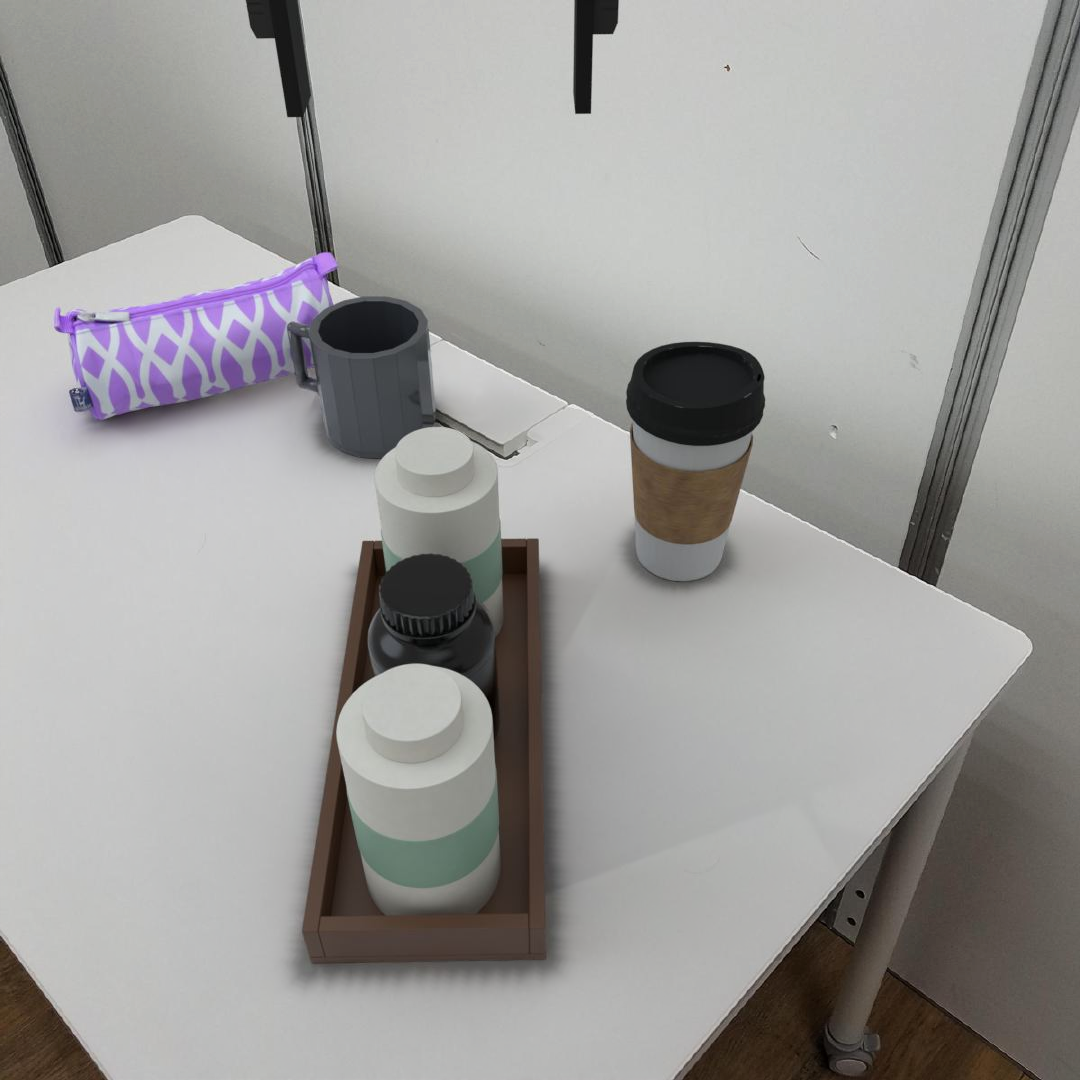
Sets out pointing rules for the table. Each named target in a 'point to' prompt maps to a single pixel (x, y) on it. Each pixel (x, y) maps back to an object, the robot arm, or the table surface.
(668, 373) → the coffee cup
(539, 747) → the tray
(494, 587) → the white bottle far
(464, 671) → the supplement bottle
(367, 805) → the white bottle near
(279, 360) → the pencil case
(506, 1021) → the table surface
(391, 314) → the grey mug
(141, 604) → the table surface
